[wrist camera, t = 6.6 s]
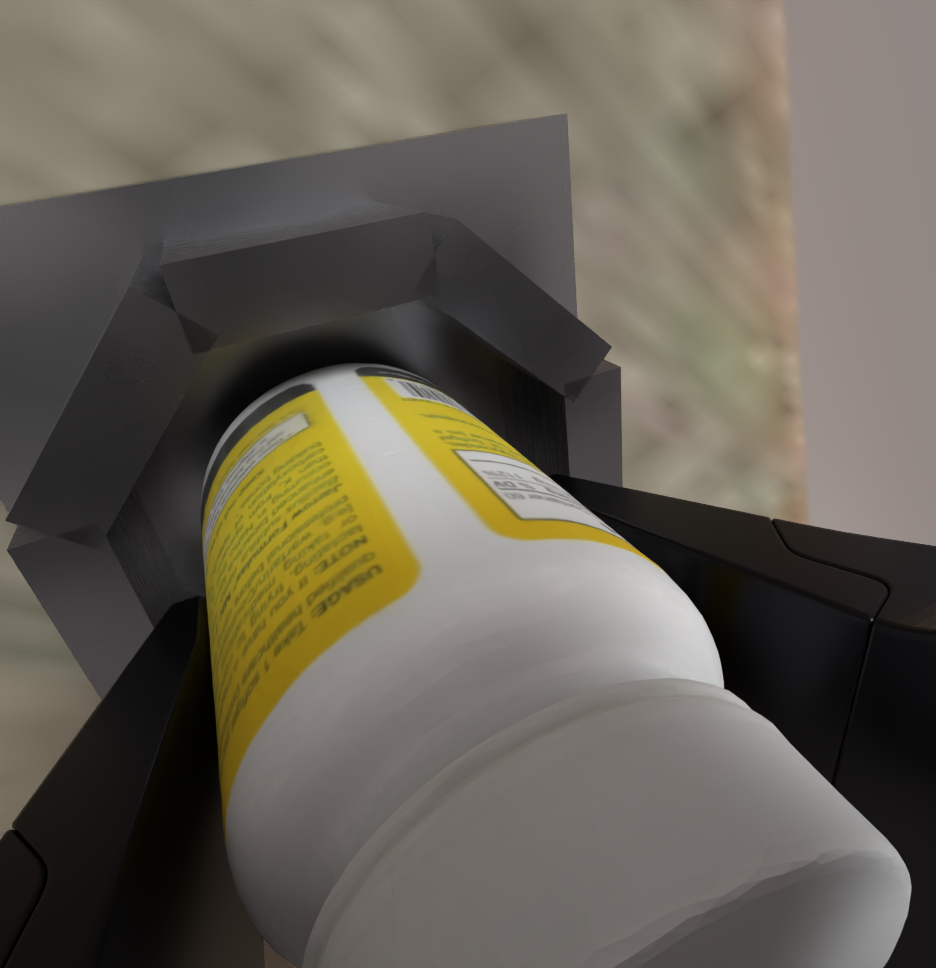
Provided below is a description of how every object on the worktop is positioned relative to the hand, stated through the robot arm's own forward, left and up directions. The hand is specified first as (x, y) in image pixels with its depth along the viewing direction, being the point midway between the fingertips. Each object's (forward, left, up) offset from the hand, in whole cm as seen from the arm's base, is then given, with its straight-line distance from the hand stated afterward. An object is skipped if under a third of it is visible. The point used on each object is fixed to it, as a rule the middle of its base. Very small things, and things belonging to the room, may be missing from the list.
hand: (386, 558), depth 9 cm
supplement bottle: (0, 0, -2) cm, 2 cm away
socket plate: (-1, 0, -4) cm, 4 cm away
